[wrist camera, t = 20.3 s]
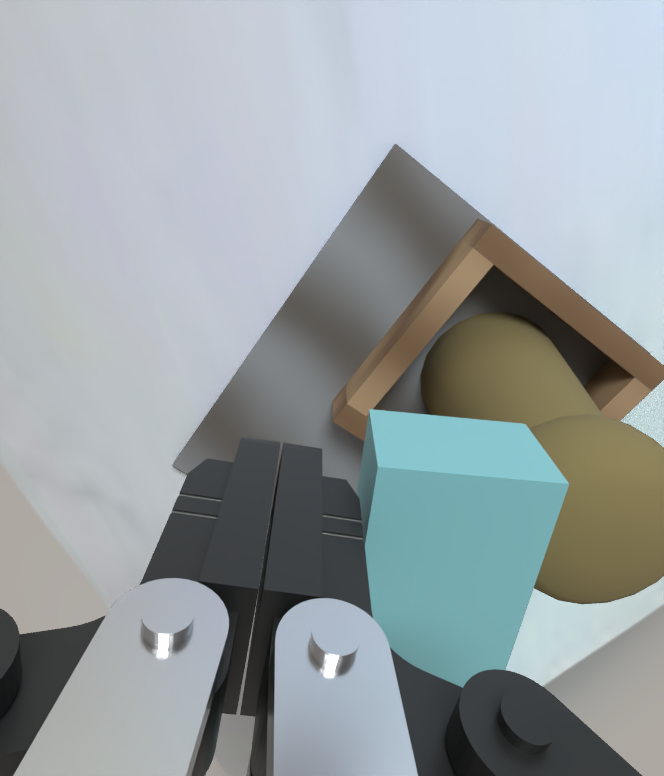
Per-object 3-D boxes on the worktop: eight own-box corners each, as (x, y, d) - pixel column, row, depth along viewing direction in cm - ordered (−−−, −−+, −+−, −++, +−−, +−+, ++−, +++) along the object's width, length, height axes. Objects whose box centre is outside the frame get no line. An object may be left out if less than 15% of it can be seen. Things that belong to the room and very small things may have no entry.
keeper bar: (414, 842, 16) (425, 933, 14) (295, 835, 15) (291, 926, 14) (540, 425, 10) (588, 485, 8) (353, 407, 10) (358, 464, 8)
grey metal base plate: (394, 144, 19) (402, 141, 17) (646, 351, 22) (679, 371, 20) (173, 462, 25) (159, 490, 23) (401, 591, 28) (407, 625, 26)
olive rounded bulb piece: (573, 315, 22) (784, 452, 11) (541, 442, 24) (692, 645, 14) (429, 307, 21) (516, 438, 11) (411, 435, 24) (469, 636, 14)
